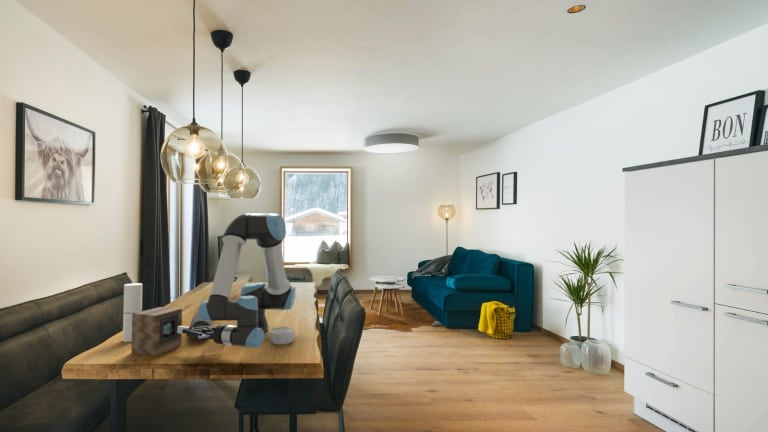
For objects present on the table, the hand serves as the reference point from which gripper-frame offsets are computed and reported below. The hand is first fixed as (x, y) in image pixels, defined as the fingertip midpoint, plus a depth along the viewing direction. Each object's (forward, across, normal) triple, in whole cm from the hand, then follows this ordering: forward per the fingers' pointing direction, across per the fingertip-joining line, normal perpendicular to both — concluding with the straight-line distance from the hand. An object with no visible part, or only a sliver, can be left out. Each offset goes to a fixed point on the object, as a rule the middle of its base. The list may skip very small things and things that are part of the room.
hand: (178, 329), depth 171 cm
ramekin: (-32, +27, -10) cm, 43 cm away
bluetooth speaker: (+9, +24, -9) cm, 27 cm away
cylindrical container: (+33, +7, -9) cm, 35 cm away
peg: (+11, 0, -3) cm, 11 cm away
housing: (+11, 0, -9) cm, 14 cm away
